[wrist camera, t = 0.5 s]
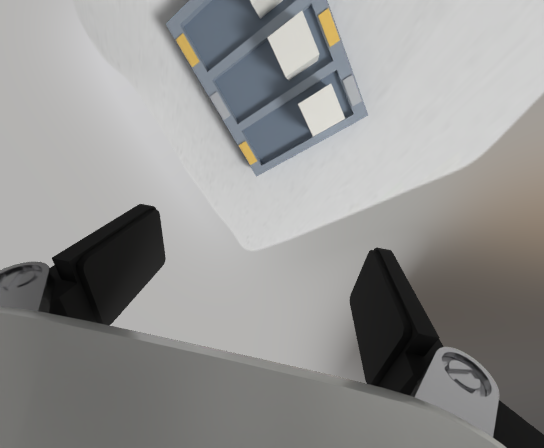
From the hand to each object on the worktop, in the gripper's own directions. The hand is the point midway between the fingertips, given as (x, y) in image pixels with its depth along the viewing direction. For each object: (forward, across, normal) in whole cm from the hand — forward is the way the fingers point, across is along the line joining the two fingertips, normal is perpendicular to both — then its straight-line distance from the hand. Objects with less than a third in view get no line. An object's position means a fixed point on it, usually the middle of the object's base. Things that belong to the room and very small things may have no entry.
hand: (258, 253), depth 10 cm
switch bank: (+28, +4, -9) cm, 30 cm away
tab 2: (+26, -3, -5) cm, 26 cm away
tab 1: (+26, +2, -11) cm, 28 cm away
